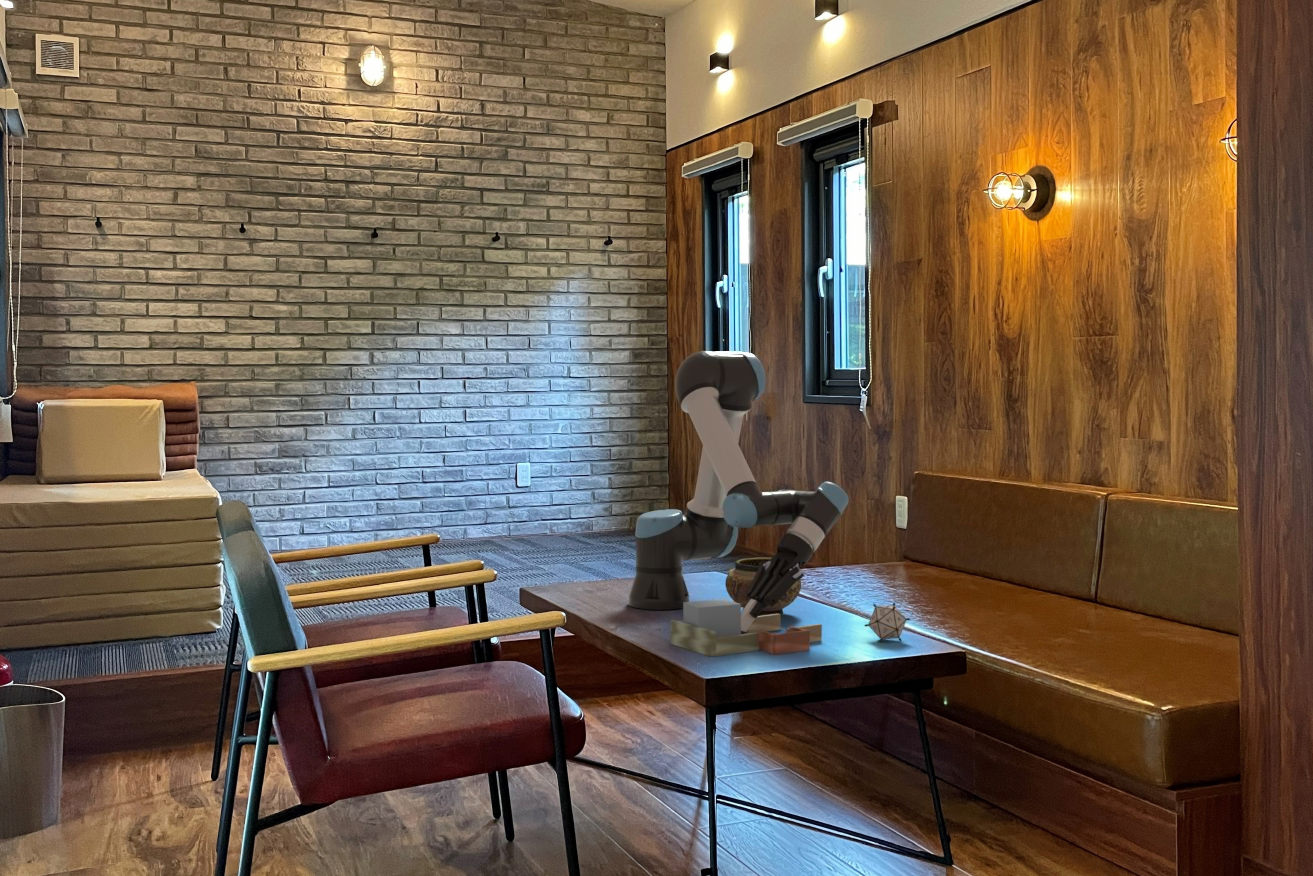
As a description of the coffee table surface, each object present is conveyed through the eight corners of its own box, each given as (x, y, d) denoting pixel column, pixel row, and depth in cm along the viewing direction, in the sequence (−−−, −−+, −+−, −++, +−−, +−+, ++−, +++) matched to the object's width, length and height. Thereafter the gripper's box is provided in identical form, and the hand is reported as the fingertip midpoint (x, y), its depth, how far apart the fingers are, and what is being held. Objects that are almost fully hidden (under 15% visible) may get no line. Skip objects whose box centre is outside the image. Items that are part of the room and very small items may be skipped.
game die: (894, 659, 261) (909, 627, 255) (857, 643, 262) (871, 611, 256) (902, 632, 268) (917, 600, 262) (866, 617, 269) (880, 585, 263)
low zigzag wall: (656, 639, 263) (656, 616, 263) (762, 624, 279) (762, 603, 279) (728, 662, 241) (728, 637, 241) (838, 645, 257) (838, 621, 257)
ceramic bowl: (715, 618, 300) (702, 561, 298) (776, 596, 307) (763, 539, 305) (763, 638, 278) (749, 576, 276) (828, 613, 285) (815, 552, 282)
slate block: (683, 644, 258) (683, 602, 258) (724, 640, 262) (725, 598, 262) (698, 651, 252) (698, 607, 251) (740, 646, 256) (741, 604, 255)
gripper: (829, 557, 263) (769, 643, 255) (790, 550, 274) (731, 633, 266) (810, 534, 260) (748, 621, 252) (771, 528, 271) (711, 611, 263)
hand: (739, 627), depth 259 cm, fingers closed
